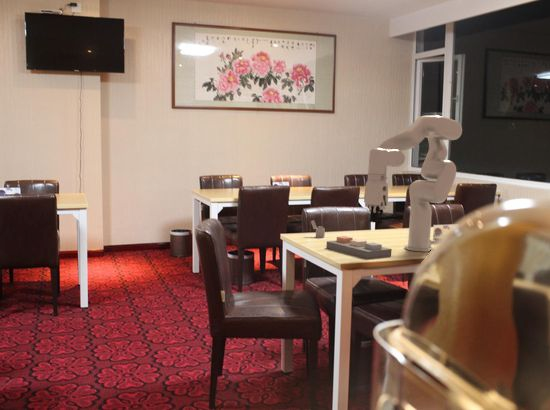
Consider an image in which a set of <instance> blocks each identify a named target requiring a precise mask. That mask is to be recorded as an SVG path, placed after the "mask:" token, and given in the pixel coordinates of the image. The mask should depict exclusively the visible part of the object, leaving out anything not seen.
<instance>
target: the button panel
mask: <svg viewBox="0 0 550 410" xmlns="http://www.w3.org/2000/svg"><path fill="white" fill-rule="evenodd" d="M326 249H329V250H332V251H337V252H341V253H344V254H347V255H351V256H355V257H359V258H362V257H363V259H367V260H369V258H370V259H378V258H387V257H391V256H392V248H389V247H384V246H382V249H381V250H369V249H365V246H361V247H357V246H353V245H350V243H341V242H337V240H326Z"/></svg>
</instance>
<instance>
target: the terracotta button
mask: <svg viewBox="0 0 550 410" xmlns="http://www.w3.org/2000/svg"><path fill="white" fill-rule="evenodd" d="M350 240H354V238H353V237H351V236H347V235H345V236H344V235H342V236H336V241H337V242H341V243H350Z"/></svg>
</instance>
